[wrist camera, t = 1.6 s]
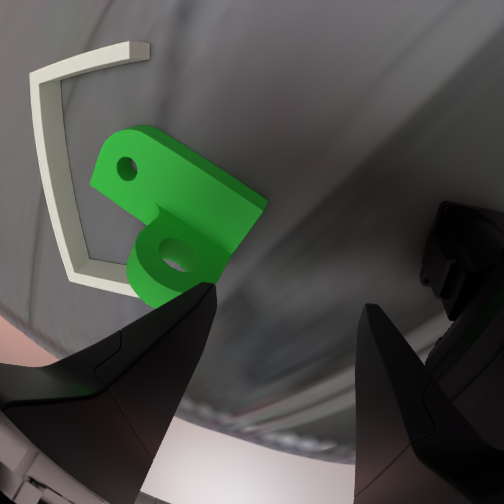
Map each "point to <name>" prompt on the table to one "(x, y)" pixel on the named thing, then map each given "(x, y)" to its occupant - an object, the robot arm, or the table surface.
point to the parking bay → (57, 164)
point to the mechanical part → (174, 210)
